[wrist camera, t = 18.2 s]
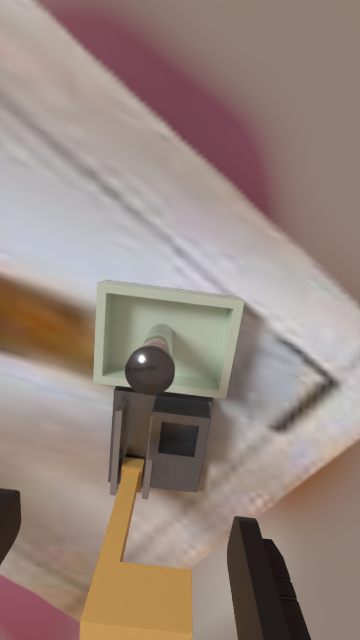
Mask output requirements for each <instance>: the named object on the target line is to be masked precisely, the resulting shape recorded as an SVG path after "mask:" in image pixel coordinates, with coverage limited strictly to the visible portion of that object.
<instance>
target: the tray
mask: <svg viewBox="0 0 360 640" xmlns="http://www.w3.org/2000/svg"><path fill="white" fill-rule="evenodd" d="M244 302H245V301H244V300H242V299H241V298H240V297H238V296H231V295H223V294H215V293H207V292H199V291H191V290H183V289H176V288H168V287H160V286H152V285H144V284H136V283H128V282H120V281H113V280H105V281H101V282H97V303H96V328H95V353H94V377H93V383H100V384H108V385H116V386H124V387H131V386H130V385H129V383H128V382H127V380H126V377H125V366H126V363H127V361H128V359H129V358H130V356H131V354H132V353H133V352H134V351H135V350H137V349H138V348H140V347H142V345H143V343H144V341H145V339H146V337H147V335H148V333H149V331H150V330H151V328H152V327H153V326H155V325H157V324H165V325H168V326H169V327H170V328H171V329H172V330H173V332H174V343H173V349H172V358H173V360H174V363H175V376H174V380H173V382H172V384H171V386H170V387H169V388H168V389H167V390H166V391H164V392H173V393H181V394H189V395H197V396H205V397H213V398H221V399H226V396H227V390H228V385H229V380H230V375H231V369H232V364H233V359H234V354H235V349H236V343H237V338H238V333H239V328H240V323H241V317H242V312H243V307H244Z"/></svg>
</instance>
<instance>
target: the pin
mask: <svg viewBox="0 0 360 640" xmlns="http://www.w3.org/2000/svg"><path fill="white" fill-rule="evenodd" d="M173 343H174V332H173V330H172V329H171V328H170V327H169V326H168V325H165V324H157V325H155V326H153V327H152V328H151V330H150V331H149V333H148V335H147V337H146V339H145V341H144V343H143V345H142V347H140V348H138V349H137V350H135V351H134V352H133V353H132V354H131V356H130V358H129V359H128V361H127V363H126V366H125V377H126V380H127V382H128V383H129V385H130V386H131V387H132V388H133V389H134V390H135V391H137V392H139V393H141V394H144V395H157V394H160V393H162V392H164V391H166V390H167V389H168V388H169V387H170V386H171V384H172V382H173V380H174V376H175V363H174V360H173V358H172V349H173Z"/></svg>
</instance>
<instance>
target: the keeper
mask: <svg viewBox="0 0 360 640" xmlns="http://www.w3.org/2000/svg"><path fill="white" fill-rule="evenodd" d="M143 468H144V459H136V458H128V457H124V460H123V463H122V469H121V481H120V486H119V490H118V493H117V497H116V500H115V504H114V507H113V510H112V514H111V517H110V521H109V524H108V528H107V531H106V534H105V538H104V541H103V545H102V548H101V552H100V555H99V558H98V562H97V565H96V569H95V572H94V576H93V579H92V583H91V586H90V589H89V593H88V596H87V600H86V603H85V607H84V610H83V613H82V617H81V620H80V640H192V634H193V629H192V628H193V627H192V575H191V570H186V569H177V568H169V567H160V566H152V565H143V564H134V563H126V562H122V560H123V556H124V551H125V546H126V541H127V537H128V532H129V527H130V522H131V517H132V513H133V508H134V503H135V498H136V494H137V492H140V490H141V485H142V478H143Z"/></svg>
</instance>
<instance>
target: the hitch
mask: <svg viewBox="0 0 360 640" xmlns="http://www.w3.org/2000/svg"><path fill="white" fill-rule="evenodd" d="M212 405H213V400H212V397H205V396H197V395H189V394H181V393H173V392H162V393H160V394H157V395H144V394H141V393H139V392H137V391H135V390H134V389H133V388H132V387H124V386H116V388H115V390H114V401H113V417H112V433H111V448H110V464H109V479H108V482H111V488H110V495H116V493H117V490H118V487H119V483H120V481H121V469H122V463H123V460H124V457H128V458H136V459H144V468H143V478H142V485H141V486H143V495H142V499H148V496H149V489H150V487H154V488H163V489H171V490H179V491H188V492H196V493H197V489H198V483H199V478H200V472H201V467H202V465H203V459H204V454H205V448H206V442H207V437H208V431H209V426H210V420H211V417H210V416H211V410H212Z"/></svg>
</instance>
